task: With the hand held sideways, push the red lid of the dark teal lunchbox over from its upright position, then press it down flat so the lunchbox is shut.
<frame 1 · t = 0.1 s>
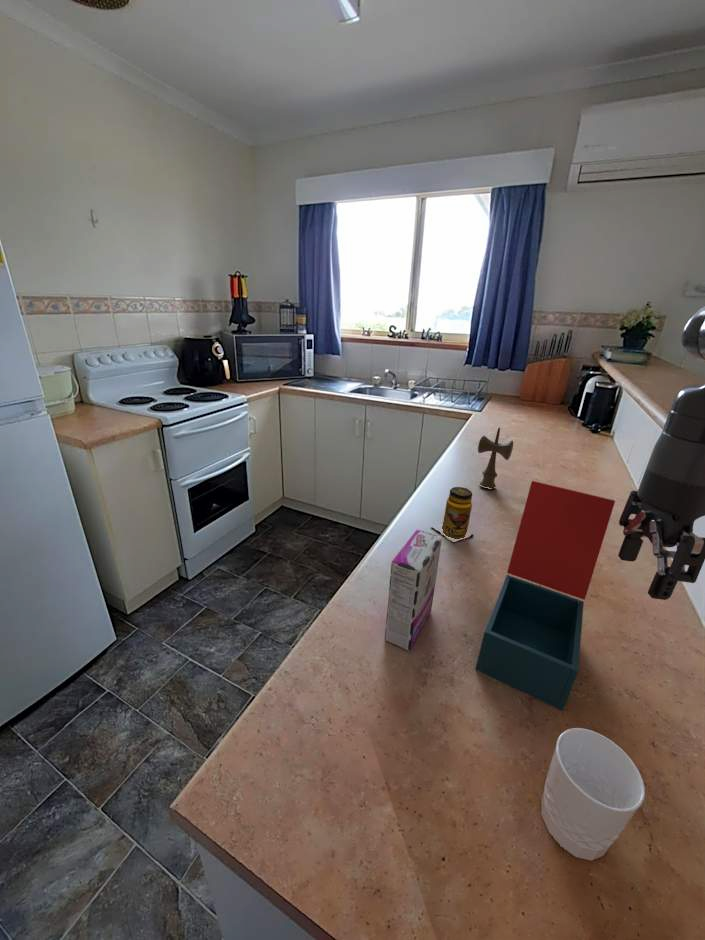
hand: (640, 577, 56), 19 cm above the countertop, tool pointing down, fingers open, 8 cm apart
white cup: (572, 823, 44), on the countertop
lunchbox: (526, 651, 66), on the countertop
kendama: (486, 487, 127), on the countertop
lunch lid: (557, 538, 68), point 17 cm above the countertop, hinge at 105.0°
candy bar box: (407, 626, 70), on the countertop
condiment: (451, 532, 101), on the countertop
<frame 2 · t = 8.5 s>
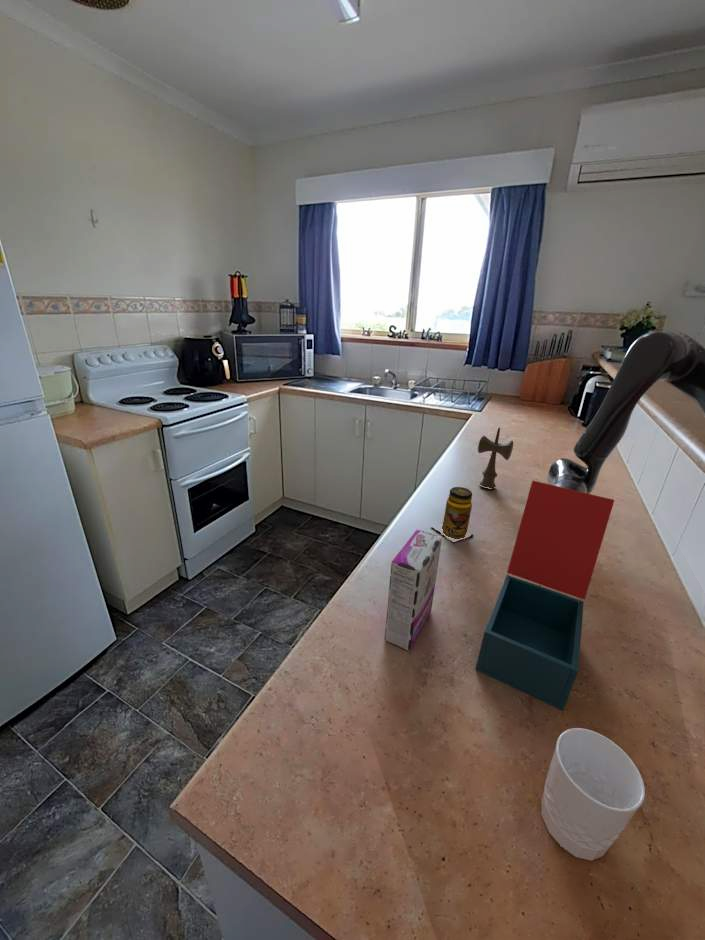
hand: (557, 538, 69), 16 cm above the countertop, tool horizontal, fingers closed
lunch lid: (557, 538, 69), point 16 cm above the countertop, hinge at 109.0°
everything else where it was.
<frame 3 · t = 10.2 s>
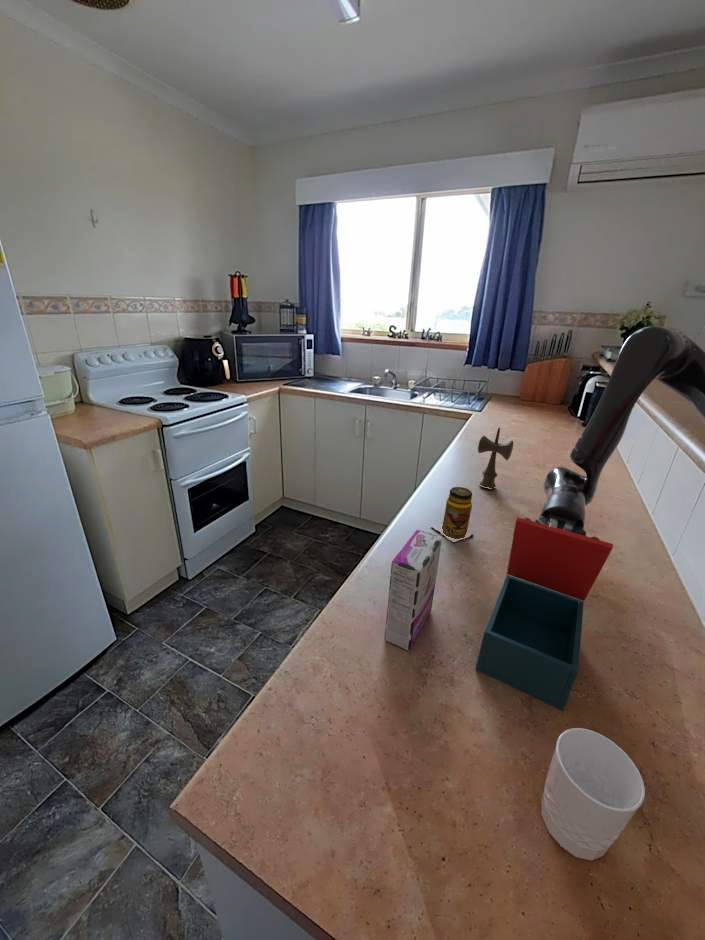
hand: (552, 558, 64), 16 cm above the countertop, tool horizontal, fingers closed
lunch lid: (552, 561, 63), point 16 cm above the countertop, hinge at 60.8°, touching gripper
everything else where it was.
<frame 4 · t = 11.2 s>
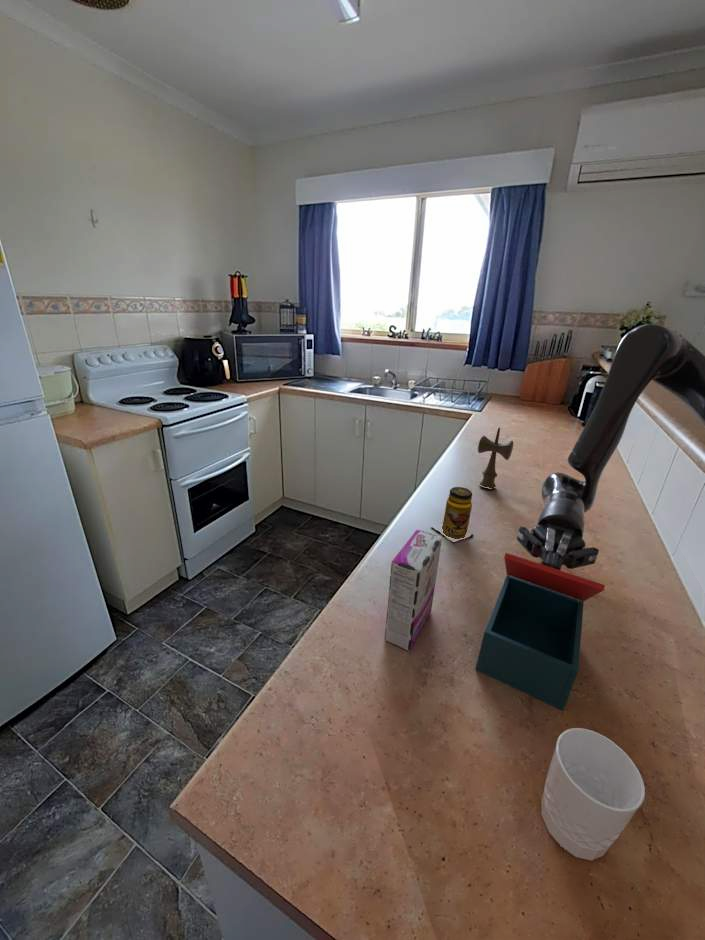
hand: (549, 570, 61), 16 cm above the countertop, tool horizontal, fingers closed
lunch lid: (547, 578, 62), point 14 cm above the countertop, hinge at 40.6°
everything else where it was.
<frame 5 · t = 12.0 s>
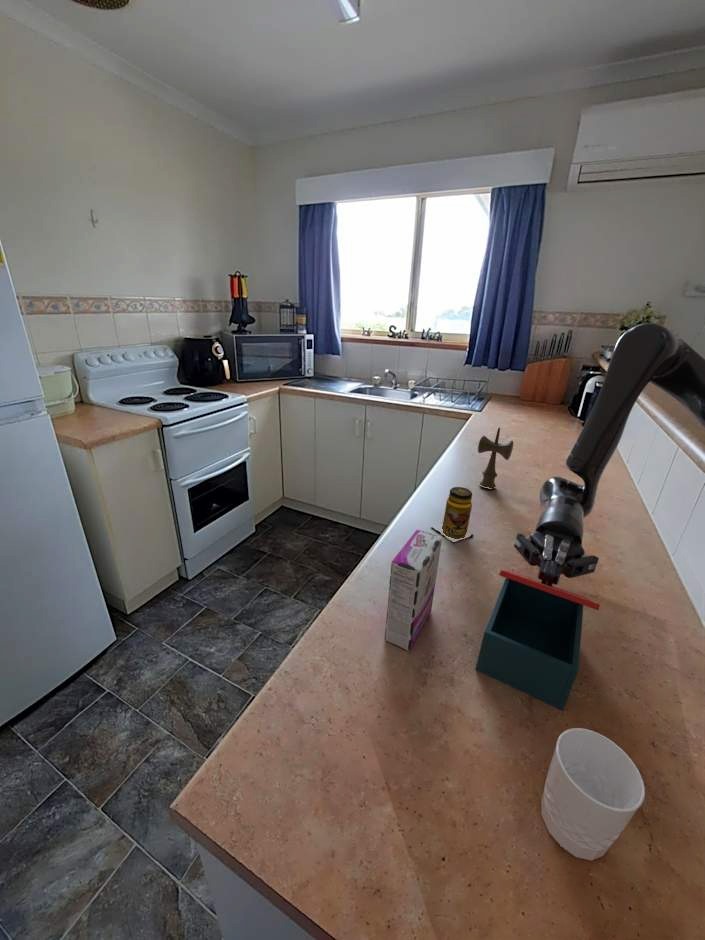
hand: (548, 580, 58), 16 cm above the countertop, tool horizontal, fingers closed
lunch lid: (545, 586, 62), point 13 cm above the countertop, hinge at 32.0°, touching gripper
everything else where it was.
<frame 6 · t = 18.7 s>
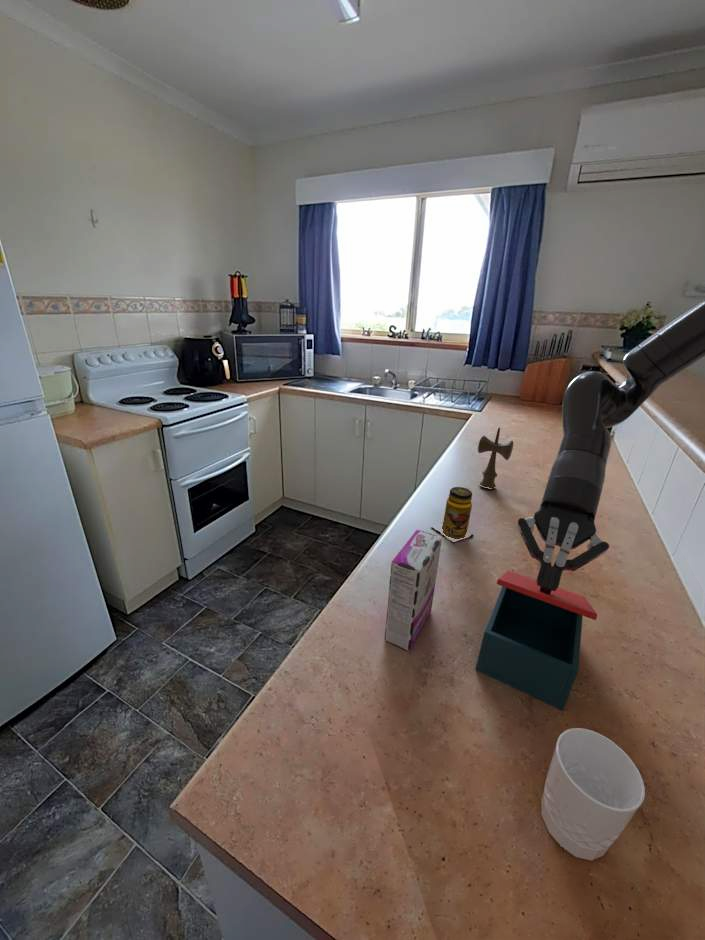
hand: (545, 591, 57), 15 cm above the countertop, tool tilted 45°, fingers closed
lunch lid: (544, 591, 62), point 12 cm above the countertop, hinge at 27.6°, touching gripper
everything else where it was.
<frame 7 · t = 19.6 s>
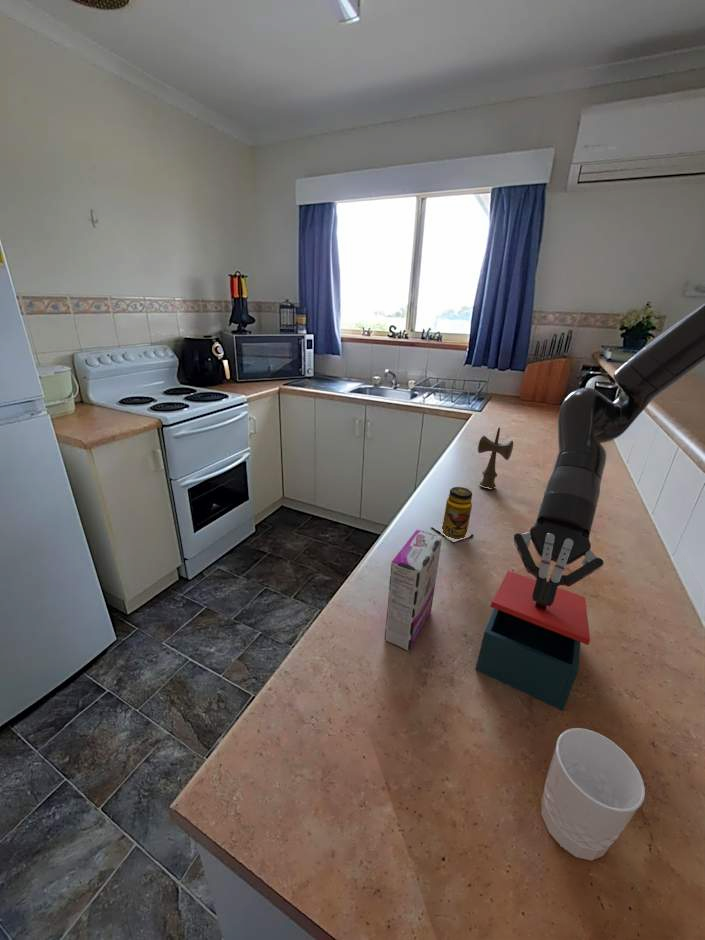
hand: (540, 606, 58), 13 cm above the countertop, tool tilted 45°, fingers closed
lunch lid: (541, 601, 62), point 11 cm above the countertop, hinge at 16.2°, touching gripper
everything else where it was.
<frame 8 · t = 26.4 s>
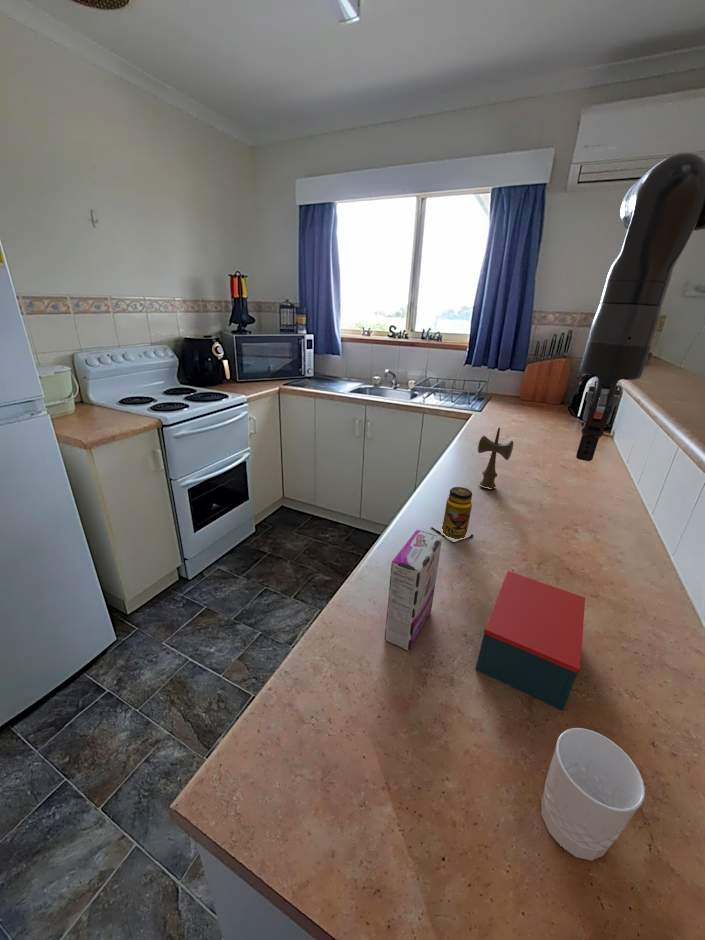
hand: (583, 458, 61), 32 cm above the countertop, tool pointing down, fingers closed
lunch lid: (537, 614, 63), point 8 cm above the countertop, hinge at 1.0°
everything else where it was.
at the end: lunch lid at +1° (first picture: +105°); the gripper is holding nothing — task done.
